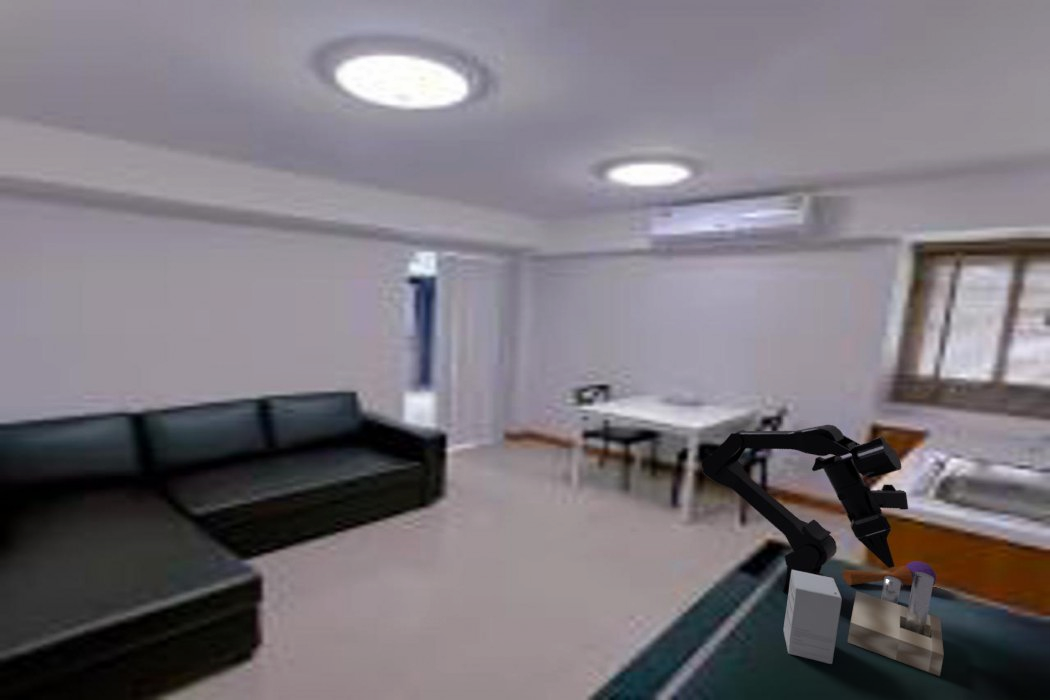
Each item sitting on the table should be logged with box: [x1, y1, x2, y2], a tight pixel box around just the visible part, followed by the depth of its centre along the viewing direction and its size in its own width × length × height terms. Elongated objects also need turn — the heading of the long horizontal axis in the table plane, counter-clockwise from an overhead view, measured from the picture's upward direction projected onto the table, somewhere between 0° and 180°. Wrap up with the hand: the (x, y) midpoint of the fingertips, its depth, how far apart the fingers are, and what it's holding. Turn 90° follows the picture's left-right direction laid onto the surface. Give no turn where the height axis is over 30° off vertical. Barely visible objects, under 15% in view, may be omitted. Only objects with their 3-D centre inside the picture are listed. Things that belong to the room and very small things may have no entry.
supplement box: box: [782, 570, 843, 665], centre depth 102 cm, size 7×7×13 cm
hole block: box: [847, 590, 944, 677], centre depth 106 cm, size 14×14×4 cm
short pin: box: [880, 576, 902, 605], centre depth 120 cm, size 3×3×5 cm
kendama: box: [842, 560, 937, 587], centre depth 127 cm, size 6×6×20 cm
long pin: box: [905, 572, 934, 635], centre depth 104 cm, size 3×3×14 cm
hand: (889, 561), depth 110 cm, fingers open, 9 cm apart
